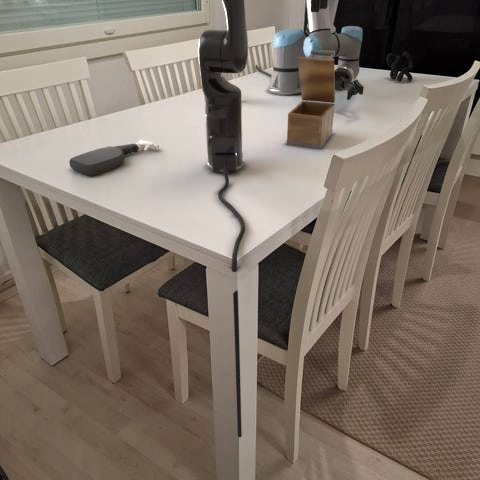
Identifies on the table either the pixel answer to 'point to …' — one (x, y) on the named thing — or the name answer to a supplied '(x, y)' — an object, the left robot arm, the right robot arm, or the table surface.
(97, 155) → the spray bottle
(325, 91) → the wooden door panel
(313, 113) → the chest
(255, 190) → the table surface
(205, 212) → the table surface
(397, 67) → the squiggle
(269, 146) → the table surface
